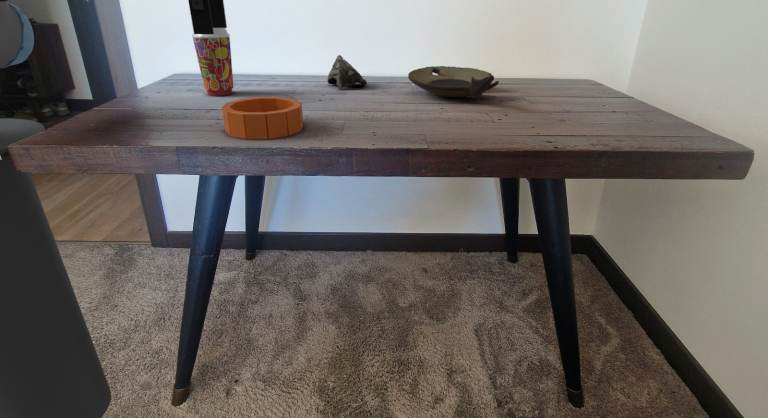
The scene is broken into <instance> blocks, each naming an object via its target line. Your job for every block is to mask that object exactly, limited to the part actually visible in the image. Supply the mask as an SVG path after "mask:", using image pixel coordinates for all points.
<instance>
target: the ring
mask: <svg viewBox="0 0 768 418" xmlns="http://www.w3.org/2000/svg"><path fill="white" fill-rule="evenodd" d="M221 113H222V118H223V126H224V131H225V133H227V134H228V135H229V136H230V137H232V138H233V137H234V138H239V139H243V140H273V139H279V138H287V137H289V136H290V137H291V136H292V135H295V134H297V133H300V132H302V129H303V127H304V117H303V116H304V115H303V103H302V102H301V101H300V100H297V99H295V98H288V97H281V96H257V97H256V96H255V97H248V98H239V99H236V100H232V101H229V102H228V101H227V102H225V104H224V105H223V106H222V107H221Z"/></svg>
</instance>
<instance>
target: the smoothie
mask: <svg viewBox="0 0 768 418" xmlns="http://www.w3.org/2000/svg"><path fill="white" fill-rule="evenodd" d="M213 31H214V34H194V32H193V33H192V34H191V37H192V41H193V46H194V49H195V54H196V58H197V63H198V67H199V71H200V75H201V80H202V84H203V88H204V90H205V91H206V93H207V95H209V96H211V97H225V96H229V95H231V94H232V93H233V89H234V76H233V75H234V74H233V64H232V63H233V62H232V48H231V34H229V32H228V30H227V28H213Z"/></svg>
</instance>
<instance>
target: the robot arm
mask: <svg viewBox="0 0 768 418" xmlns="http://www.w3.org/2000/svg"><path fill="white" fill-rule="evenodd" d="M187 1H188V7H189V13H190V19H191V25H192V30H193V33H194V34H214V31H213V28H225V29H227V28H228V25H227V18H226V11H225V3H224V0H187ZM34 35H35V34H34V30H33V27H32V24H31V22H30V20H29V18H28V17H27V15H26V14H24V13H23V11H22V9H21V8H20V7H18V6H17V5H16V4H14V3H11V2H9V1H8V0H0V69H5V68H8V67H9V66H10V67H11V66H15V65H19V64H21V63H23V62H25V61H26V60H27V59H28V58H29V56H30V55H31V53H32V52H33V49H34V44H35V36H34Z"/></svg>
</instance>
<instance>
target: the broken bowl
mask: <svg viewBox="0 0 768 418" xmlns="http://www.w3.org/2000/svg"><path fill="white" fill-rule="evenodd" d="M407 78H408V80H409V81H410V82H411V83H412V84H414V85H415V86H417V87H418V88H420V89H422V90H424V91H426V92H428V93H430V94H433V95H436V96H439V97H444V98H451V99H452V98H453V99H458V98H459V99H460V98H468V97H469V98H471V99H477V98H479V97H481V95H483V94H484V93H485V92H488V91H489V90H492V89H493V88H496V87H497V86H498V85H499V84H500V82H499V81H500V80H496V81H494V80H495V76H494V75H493V74H492V73H491V72H488V71H485V70H482V69H478V68H474V67H461V66H457V67H456V66H447V65H446V66H445V65H437V66H436V65H435V66H434V65H433V66H425V67H419V68H417V69H413V70H411V71H410V72H409V73H407ZM493 81H494V82H493Z"/></svg>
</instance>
